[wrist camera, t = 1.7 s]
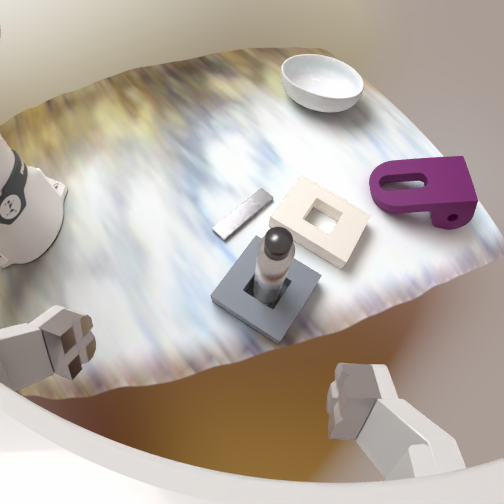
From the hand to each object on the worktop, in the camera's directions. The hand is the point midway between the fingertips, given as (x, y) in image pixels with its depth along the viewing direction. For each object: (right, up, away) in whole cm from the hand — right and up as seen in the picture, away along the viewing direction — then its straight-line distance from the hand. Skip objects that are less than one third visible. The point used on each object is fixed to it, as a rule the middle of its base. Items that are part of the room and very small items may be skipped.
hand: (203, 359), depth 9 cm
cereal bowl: (+15, +35, +49) cm, 62 cm away
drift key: (0, +9, +36) cm, 37 cm away
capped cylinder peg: (+3, -2, +31) cm, 31 cm away
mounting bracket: (+30, +12, +39) cm, 50 cm away
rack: (+11, +7, +36) cm, 38 cm away
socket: (+3, -2, +31) cm, 31 cm away
